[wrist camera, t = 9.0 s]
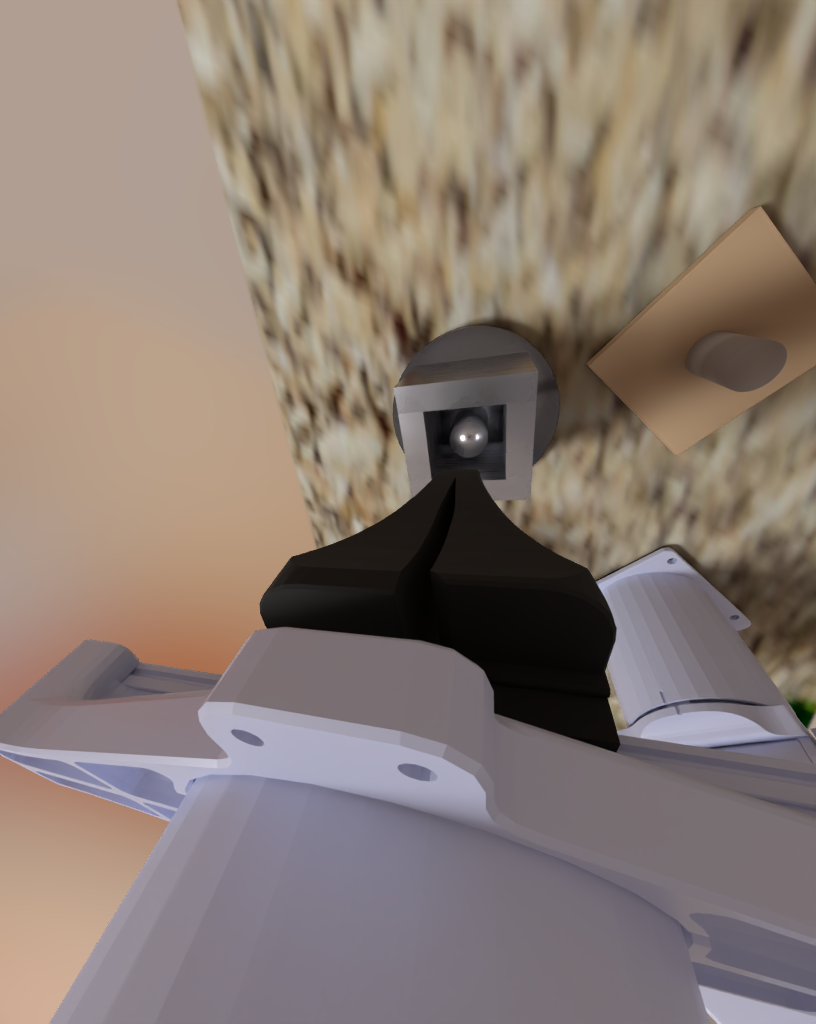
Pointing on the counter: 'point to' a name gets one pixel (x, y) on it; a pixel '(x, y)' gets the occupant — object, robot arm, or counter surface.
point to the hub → (485, 423)
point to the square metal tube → (463, 388)
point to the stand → (716, 336)
